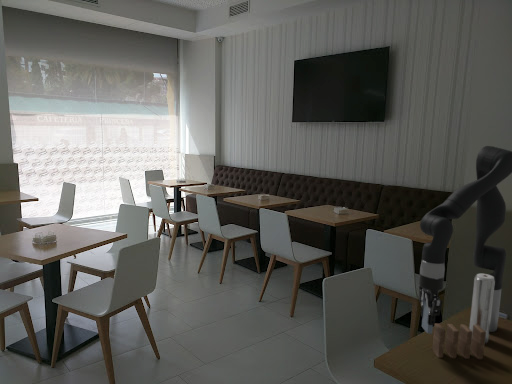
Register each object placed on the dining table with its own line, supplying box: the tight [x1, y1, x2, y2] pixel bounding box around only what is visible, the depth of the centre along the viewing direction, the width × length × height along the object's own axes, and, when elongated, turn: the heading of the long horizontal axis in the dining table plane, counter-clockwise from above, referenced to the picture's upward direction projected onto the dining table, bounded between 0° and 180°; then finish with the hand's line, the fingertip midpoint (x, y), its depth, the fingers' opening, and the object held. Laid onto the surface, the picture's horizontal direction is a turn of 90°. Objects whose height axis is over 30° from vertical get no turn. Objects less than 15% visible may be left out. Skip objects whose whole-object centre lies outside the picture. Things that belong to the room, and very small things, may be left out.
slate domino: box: [421, 301, 434, 335], centre depth 135 cm, size 2×5×10 cm, turn 178°
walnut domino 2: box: [444, 323, 460, 359], centre depth 137 cm, size 2×5×10 cm, turn 178°
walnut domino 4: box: [470, 325, 486, 360], centre depth 136 cm, size 2×5×10 cm, turn 178°
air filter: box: [468, 273, 495, 344], centre depth 146 cm, size 6×6×25 cm
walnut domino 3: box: [457, 324, 472, 360], centre depth 136 cm, size 2×5×10 cm, turn 178°
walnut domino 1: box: [431, 322, 446, 359], centre depth 137 cm, size 2×5×10 cm, turn 178°
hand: (427, 320), depth 136 cm, fingers closed on slate domino, 5 cm apart
